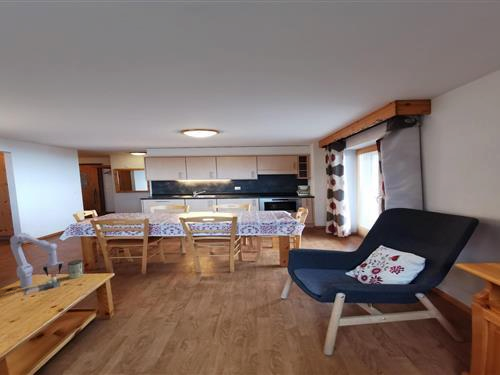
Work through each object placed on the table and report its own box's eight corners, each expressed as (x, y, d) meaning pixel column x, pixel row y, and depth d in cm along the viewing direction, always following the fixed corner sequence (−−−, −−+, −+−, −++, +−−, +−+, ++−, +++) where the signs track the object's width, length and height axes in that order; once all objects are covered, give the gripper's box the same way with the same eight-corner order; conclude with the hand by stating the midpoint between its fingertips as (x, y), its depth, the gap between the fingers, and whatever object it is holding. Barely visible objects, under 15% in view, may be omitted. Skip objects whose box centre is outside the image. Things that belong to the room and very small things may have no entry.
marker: (51, 283, 203) (51, 274, 202) (56, 282, 205) (55, 273, 204) (51, 284, 200) (50, 275, 200) (56, 283, 202) (55, 274, 202)
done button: (46, 283, 194) (45, 281, 194) (51, 282, 197) (51, 280, 197) (45, 285, 192) (45, 283, 191) (51, 283, 194) (51, 281, 194)
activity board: (25, 289, 194) (25, 288, 194) (60, 281, 208) (60, 280, 208) (23, 296, 183) (23, 295, 183) (60, 287, 196) (60, 286, 196)
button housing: (44, 287, 195) (44, 284, 195) (54, 285, 198) (53, 282, 198) (44, 290, 190) (43, 287, 190) (53, 288, 194) (53, 285, 194)
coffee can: (66, 278, 214) (65, 262, 214) (80, 274, 223) (79, 259, 222) (71, 280, 208) (70, 264, 208) (84, 276, 217) (83, 261, 216)
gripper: (40, 261, 194) (41, 278, 194) (63, 257, 203) (64, 273, 203) (41, 259, 199) (42, 275, 200) (63, 255, 208) (64, 270, 209)
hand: (53, 274), depth 202 cm, fingers open, 7 cm apart
